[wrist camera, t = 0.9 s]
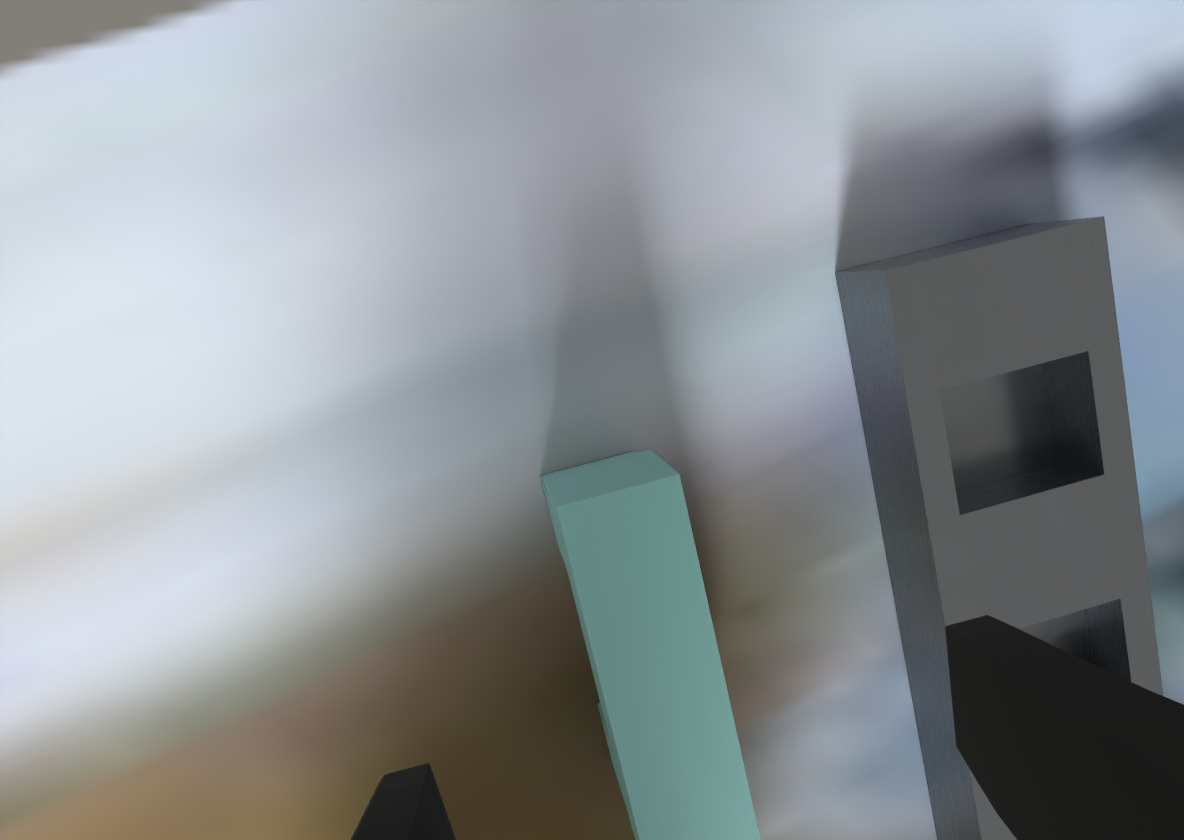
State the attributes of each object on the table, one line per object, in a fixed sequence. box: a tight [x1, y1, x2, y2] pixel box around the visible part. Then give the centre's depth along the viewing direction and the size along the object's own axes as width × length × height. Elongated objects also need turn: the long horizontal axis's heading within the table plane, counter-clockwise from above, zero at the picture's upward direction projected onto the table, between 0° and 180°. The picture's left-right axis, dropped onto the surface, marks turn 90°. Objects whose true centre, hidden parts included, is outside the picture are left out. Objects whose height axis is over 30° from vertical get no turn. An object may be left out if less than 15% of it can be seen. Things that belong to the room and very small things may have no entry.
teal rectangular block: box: [540, 449, 760, 840], centre depth 23 cm, size 10×3×5 cm, turn 13°
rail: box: [835, 217, 1163, 840], centre depth 26 cm, size 24×6×3 cm, turn 13°
